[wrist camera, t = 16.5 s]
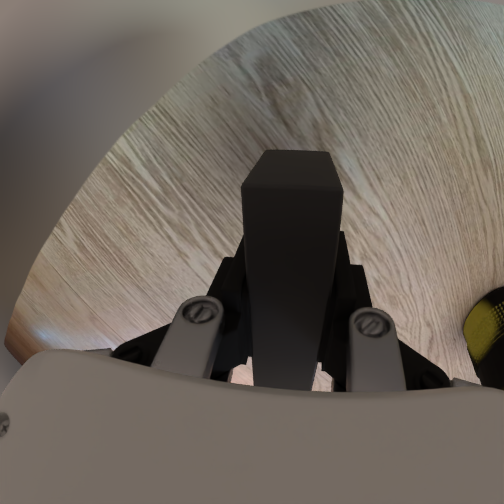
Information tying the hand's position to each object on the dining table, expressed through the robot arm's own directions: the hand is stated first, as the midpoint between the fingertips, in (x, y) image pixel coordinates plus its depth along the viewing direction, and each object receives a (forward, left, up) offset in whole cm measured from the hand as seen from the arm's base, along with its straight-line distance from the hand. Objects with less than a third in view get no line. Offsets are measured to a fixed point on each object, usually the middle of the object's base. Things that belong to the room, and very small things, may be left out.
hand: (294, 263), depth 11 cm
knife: (+5, 0, 0) cm, 5 cm away
